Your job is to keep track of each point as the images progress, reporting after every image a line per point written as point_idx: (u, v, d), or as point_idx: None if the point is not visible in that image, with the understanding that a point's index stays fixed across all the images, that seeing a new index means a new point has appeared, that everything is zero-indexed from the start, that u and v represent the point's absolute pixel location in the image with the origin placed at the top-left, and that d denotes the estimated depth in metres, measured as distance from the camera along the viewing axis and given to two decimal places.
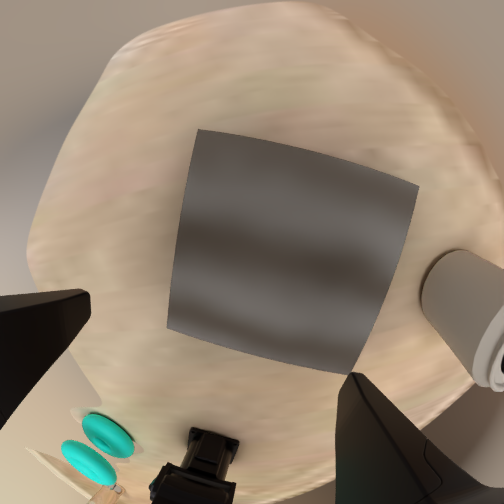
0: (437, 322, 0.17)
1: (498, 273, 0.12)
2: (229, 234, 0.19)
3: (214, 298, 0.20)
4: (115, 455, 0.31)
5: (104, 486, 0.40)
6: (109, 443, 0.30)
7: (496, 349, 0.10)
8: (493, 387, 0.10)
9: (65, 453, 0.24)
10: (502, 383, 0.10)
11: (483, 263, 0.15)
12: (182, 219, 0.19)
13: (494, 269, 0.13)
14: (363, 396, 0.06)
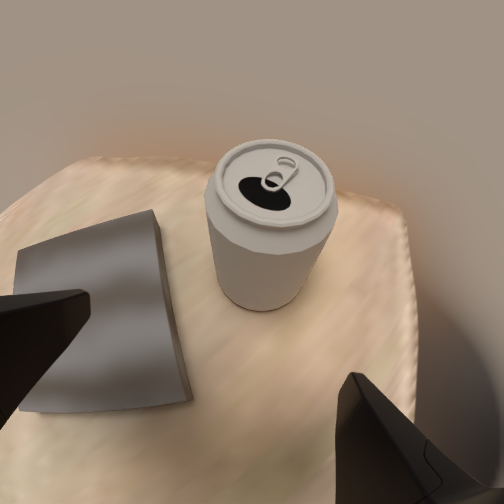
0: (229, 283, 0.19)
1: None
2: None
3: None
4: None
5: None
6: None
7: None
8: (267, 222, 0.12)
9: None
10: None
11: None
12: None
13: None
14: (363, 396, 0.06)
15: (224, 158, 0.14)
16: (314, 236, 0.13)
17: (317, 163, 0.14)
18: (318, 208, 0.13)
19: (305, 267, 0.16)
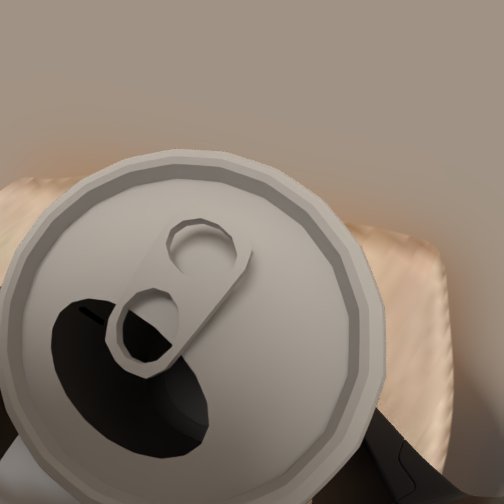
0: (146, 430, 0.08)
1: None
2: None
3: None
4: None
5: None
6: None
7: (14, 363, 0.03)
8: None
9: None
10: (231, 496, 0.02)
11: None
12: None
13: None
14: None
15: (29, 235, 0.04)
16: None
17: (327, 236, 0.04)
18: (310, 476, 0.02)
19: None
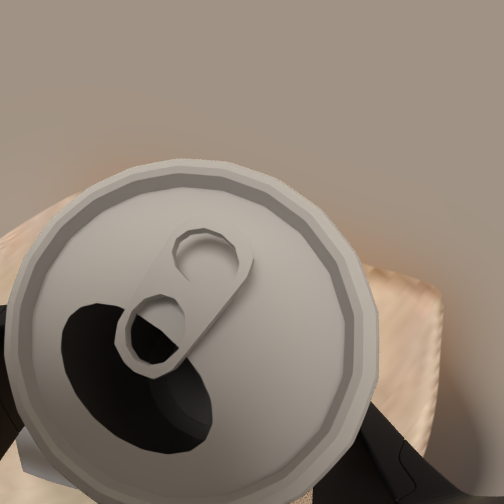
0: (149, 429, 0.08)
1: None
2: None
3: None
4: None
5: None
6: None
7: (23, 365, 0.03)
8: None
9: None
10: (233, 489, 0.03)
11: None
12: None
13: None
14: None
15: (37, 241, 0.04)
16: None
17: (324, 245, 0.04)
18: (307, 470, 0.02)
19: None
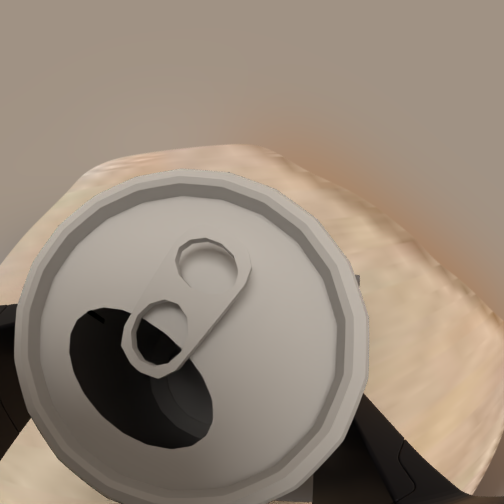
0: (151, 427, 0.09)
1: None
2: None
3: None
4: None
5: None
6: None
7: (33, 366, 0.03)
8: (126, 501, 0.02)
9: None
10: (232, 482, 0.03)
11: None
12: None
13: None
14: None
15: (45, 248, 0.04)
16: None
17: (318, 253, 0.04)
18: (300, 463, 0.03)
19: None
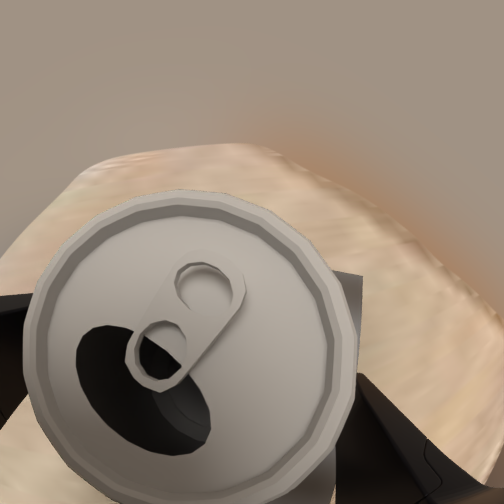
0: (152, 431, 0.09)
1: None
2: None
3: None
4: None
5: None
6: None
7: (41, 379, 0.04)
8: (131, 503, 0.02)
9: None
10: (228, 486, 0.03)
11: None
12: None
13: None
14: (363, 396, 0.06)
15: (49, 267, 0.04)
16: None
17: (310, 275, 0.05)
18: (290, 471, 0.03)
19: None
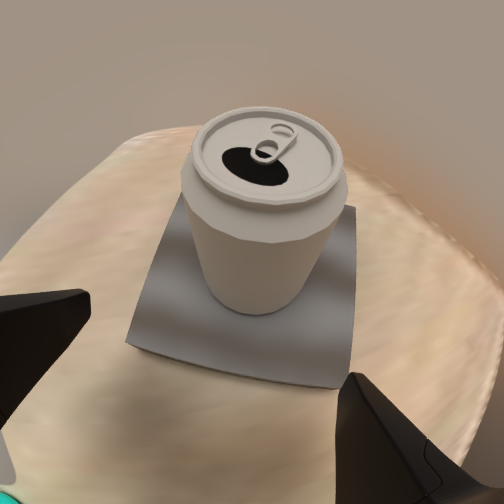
0: (215, 281, 0.15)
1: None
2: None
3: (185, 302, 0.19)
4: None
5: None
6: None
7: None
8: (257, 198, 0.09)
9: None
10: None
11: None
12: (165, 233, 0.22)
13: None
14: (363, 396, 0.06)
15: (205, 126, 0.11)
16: (319, 219, 0.10)
17: (321, 132, 0.11)
18: (324, 182, 0.09)
19: (307, 261, 0.13)
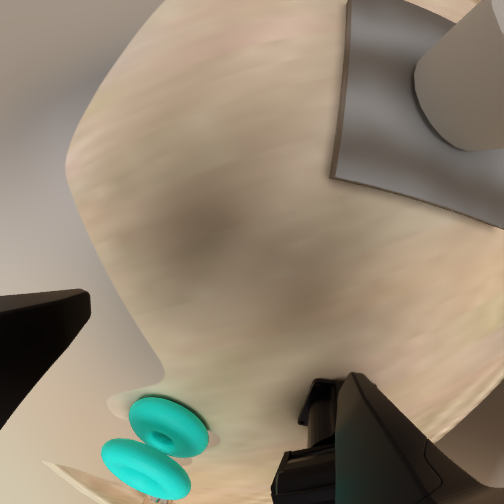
0: (466, 123, 0.09)
1: None
2: (404, 63, 0.13)
3: (398, 128, 0.14)
4: (181, 454, 0.24)
5: (147, 500, 0.34)
6: (175, 436, 0.23)
7: None
8: None
9: (109, 460, 0.17)
10: None
11: (451, 28, 0.07)
12: (353, 45, 0.13)
13: (463, 18, 0.06)
14: (363, 396, 0.06)
15: None
16: None
17: None
18: None
19: None
